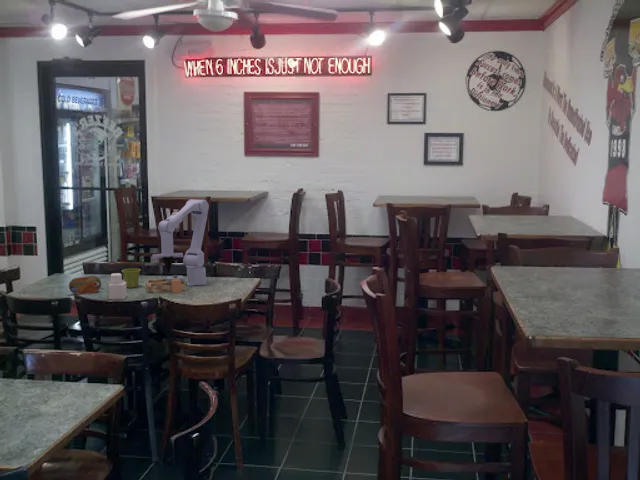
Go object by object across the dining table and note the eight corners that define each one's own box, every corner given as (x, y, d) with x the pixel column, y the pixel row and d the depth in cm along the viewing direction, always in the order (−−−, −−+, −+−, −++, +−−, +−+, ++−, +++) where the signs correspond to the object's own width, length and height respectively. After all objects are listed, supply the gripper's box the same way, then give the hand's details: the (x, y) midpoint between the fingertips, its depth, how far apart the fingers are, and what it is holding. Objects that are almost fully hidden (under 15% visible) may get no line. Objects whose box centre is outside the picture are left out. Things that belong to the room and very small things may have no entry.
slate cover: (182, 280, 362) (181, 273, 361) (184, 283, 354) (184, 276, 354) (166, 281, 359) (166, 274, 359) (168, 284, 352) (168, 277, 351)
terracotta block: (179, 290, 351) (179, 279, 350) (181, 292, 347) (180, 280, 346) (171, 291, 349) (171, 279, 349) (172, 293, 346) (172, 281, 345)
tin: (70, 295, 341) (69, 278, 340) (68, 294, 344) (67, 277, 343) (101, 292, 349) (100, 275, 348) (100, 291, 352) (99, 274, 351)
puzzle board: (181, 285, 364) (181, 277, 363) (185, 290, 353) (185, 281, 352) (145, 288, 358) (145, 280, 357) (148, 292, 347) (148, 284, 346)
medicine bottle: (111, 296, 339) (110, 271, 337) (126, 296, 340) (125, 271, 338) (108, 299, 332) (107, 274, 330) (124, 299, 333) (123, 274, 331)
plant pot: (136, 288, 357) (135, 271, 355) (119, 288, 358) (118, 271, 357) (144, 285, 366) (143, 268, 365) (127, 284, 368) (126, 268, 366)
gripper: (153, 246, 342) (154, 274, 343) (183, 245, 346) (184, 272, 348) (151, 245, 348) (152, 272, 350) (181, 243, 353) (182, 270, 355)
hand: (168, 272), depth 350 cm, fingers closed
